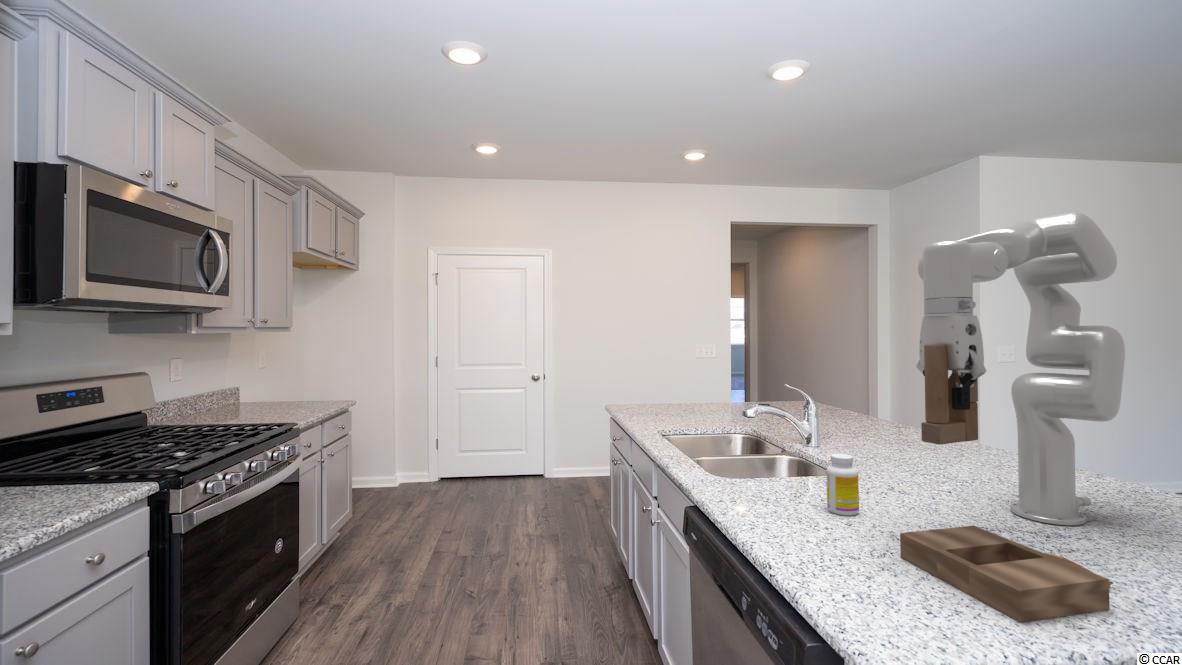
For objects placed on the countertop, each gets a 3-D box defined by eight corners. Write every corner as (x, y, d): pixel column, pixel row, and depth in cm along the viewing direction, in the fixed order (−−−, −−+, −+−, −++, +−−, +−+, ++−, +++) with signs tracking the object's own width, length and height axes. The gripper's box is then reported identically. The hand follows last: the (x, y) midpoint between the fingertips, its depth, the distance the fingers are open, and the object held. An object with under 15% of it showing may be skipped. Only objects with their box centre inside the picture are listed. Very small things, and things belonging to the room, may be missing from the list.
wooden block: (979, 440, 97) (977, 343, 97) (940, 445, 93) (938, 344, 93) (958, 436, 100) (957, 343, 100) (920, 441, 96) (918, 344, 96)
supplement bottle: (866, 514, 118) (864, 457, 118) (843, 518, 116) (842, 460, 116) (842, 505, 125) (841, 451, 125) (820, 508, 122) (819, 454, 122)
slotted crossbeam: (974, 549, 99) (973, 525, 99) (1109, 609, 77) (1109, 578, 77) (900, 557, 96) (900, 533, 96) (1020, 622, 74) (1019, 590, 74)
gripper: (1008, 306, 89) (1010, 413, 89) (929, 310, 105) (930, 401, 105) (970, 306, 88) (971, 415, 87) (896, 311, 104) (897, 402, 104)
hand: (949, 406), depth 96 cm, fingers closed on wooden block, 4 cm apart
